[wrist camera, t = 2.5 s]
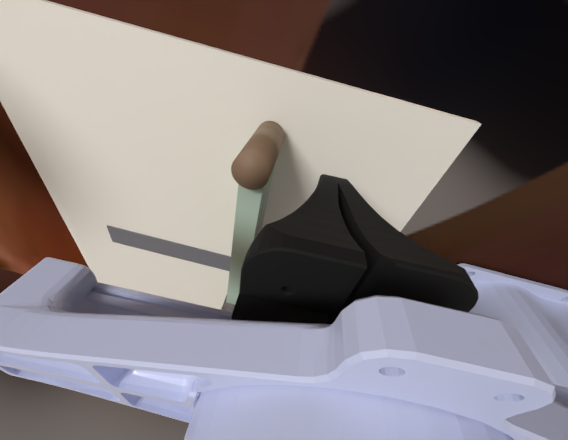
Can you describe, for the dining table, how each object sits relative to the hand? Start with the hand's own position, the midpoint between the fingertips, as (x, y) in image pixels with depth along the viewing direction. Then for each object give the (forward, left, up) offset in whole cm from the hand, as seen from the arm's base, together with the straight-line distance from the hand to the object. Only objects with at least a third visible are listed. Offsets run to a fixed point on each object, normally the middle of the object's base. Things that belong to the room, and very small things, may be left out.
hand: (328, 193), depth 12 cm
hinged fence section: (+4, +3, -1) cm, 5 cm away
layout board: (+7, +10, -2) cm, 12 cm away
